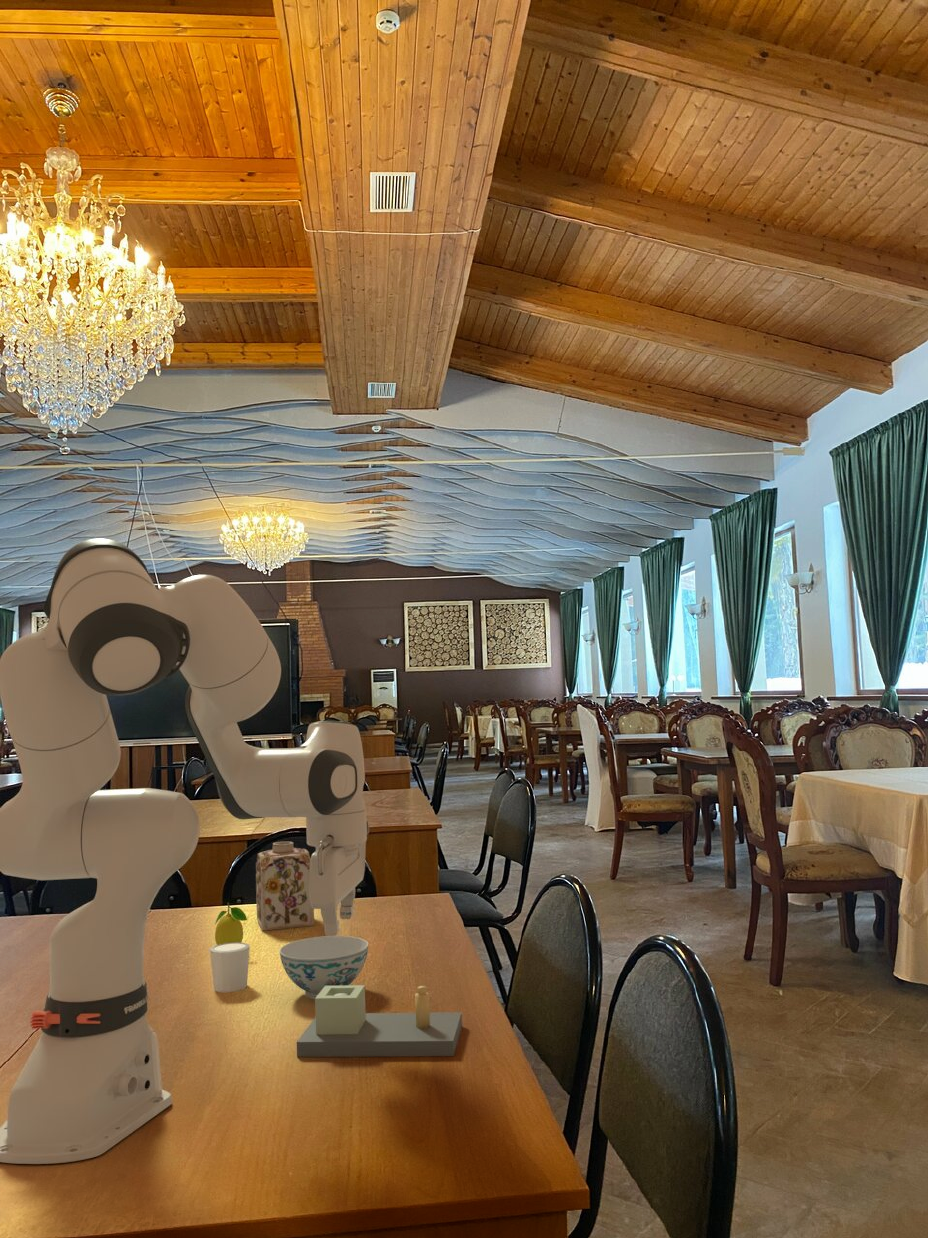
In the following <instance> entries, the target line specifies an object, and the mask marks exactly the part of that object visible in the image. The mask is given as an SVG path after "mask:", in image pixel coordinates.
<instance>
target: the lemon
mask: <svg viewBox="0 0 928 1238" xmlns="http://www.w3.org/2000/svg"><path fill="white" fill-rule="evenodd" d="M226 913H227V914H226ZM241 921H244V922H245V921H248V917H247V915H246V913H245V912H244V911H243V910H242V909H241V908H240V907H237V906H234V907H231V906H230V902H227V910H222V911H220V912H219V914H218V916H217V918H216V920H215V923H214V925H216V927H215V932H214V935H215V936H214V937H215V938H214V939H215V944H216V945H220V944H225V943H243V938H244V929H243V928H244V927H243V924H242V922H241Z"/></svg>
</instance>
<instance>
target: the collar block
mask: <svg viewBox="0 0 928 1238" xmlns="http://www.w3.org/2000/svg"><path fill="white" fill-rule="evenodd" d="M338 993H346V994H347V995H339V996H334V995H335V994H338ZM314 1005H315V1006H314V1007H315V1008H314V1009H315V1010H314V1011H315V1017H316V1034H358V1032H359V1031H360V1029H361V1027H362V1026H363V1024H364V1022H365V1020H366V987H365V985H361V984H358V985H357V984H356V985H355V984H353V985H351V984H349V985H345V986H325V987H324V988H323V989H322V990H321V992H320V993H319V994H318V995H317V997H316V998H315V999H314Z"/></svg>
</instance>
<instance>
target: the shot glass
mask: <svg viewBox="0 0 928 1238" xmlns="http://www.w3.org/2000/svg"><path fill="white" fill-rule="evenodd" d="M250 946H251V945H250V944H249V943H246V942H241V943H225V944H220V945H217V944H216V945H214V946H211V948H209V954H210V964H211V974H212V983H213V990H214V991H215V992H218V993H234V992H238V991H241V990H244V989H246V988H247V987H248V976H249V975H248V974H249V961H250V948H251V947H250Z"/></svg>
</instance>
